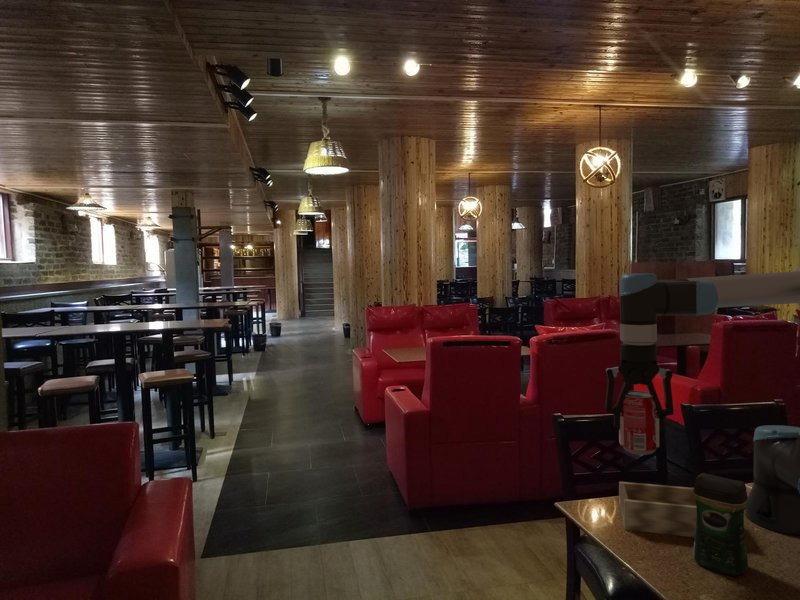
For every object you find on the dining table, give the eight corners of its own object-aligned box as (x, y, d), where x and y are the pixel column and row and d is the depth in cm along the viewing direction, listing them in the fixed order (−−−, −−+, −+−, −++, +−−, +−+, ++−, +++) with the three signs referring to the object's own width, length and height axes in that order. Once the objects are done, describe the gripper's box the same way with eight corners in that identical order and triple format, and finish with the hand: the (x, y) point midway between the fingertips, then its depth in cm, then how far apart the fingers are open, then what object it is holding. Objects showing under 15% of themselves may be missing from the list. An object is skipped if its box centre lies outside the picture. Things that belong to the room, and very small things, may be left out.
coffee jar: (751, 565, 111) (752, 478, 110) (741, 581, 105) (742, 489, 104) (700, 549, 117) (700, 466, 116) (688, 563, 112) (688, 477, 111)
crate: (714, 517, 132) (714, 489, 132) (729, 541, 121) (729, 510, 120) (619, 507, 138) (619, 481, 138) (624, 529, 127) (624, 500, 127)
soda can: (660, 456, 115) (660, 397, 115) (625, 455, 117) (625, 397, 116) (651, 446, 122) (651, 390, 122) (618, 445, 124) (618, 389, 123)
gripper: (682, 340, 119) (682, 441, 120) (590, 340, 125) (591, 436, 126) (690, 345, 112) (690, 452, 113) (592, 344, 118) (594, 446, 119)
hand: (638, 444), depth 120 cm, fingers closed on soda can, 6 cm apart
